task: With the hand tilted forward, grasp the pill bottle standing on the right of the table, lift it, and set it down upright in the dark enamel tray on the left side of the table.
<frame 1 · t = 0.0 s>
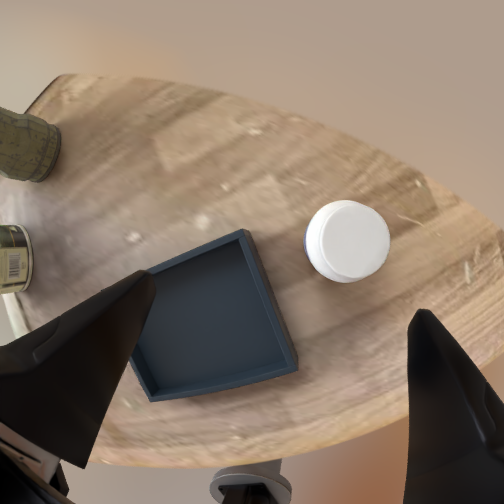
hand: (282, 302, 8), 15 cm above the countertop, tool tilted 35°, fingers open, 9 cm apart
tray: (198, 322, 25), on the countertop
pill bottle: (334, 241, 23), on the countertop
thermos: (43, 153, 28), on the countertop
coffee can: (18, 258, 30), on the countertop
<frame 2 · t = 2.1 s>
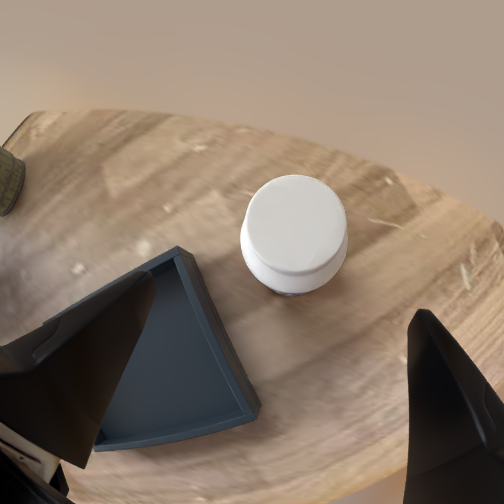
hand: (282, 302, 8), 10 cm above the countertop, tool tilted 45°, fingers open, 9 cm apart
tray: (141, 364, 19), on the countertop
pill bottle: (293, 258, 19), on the countertop
thermos: (10, 188, 26), on the countertop
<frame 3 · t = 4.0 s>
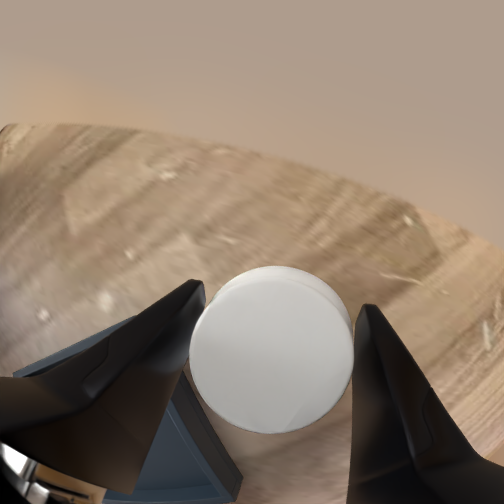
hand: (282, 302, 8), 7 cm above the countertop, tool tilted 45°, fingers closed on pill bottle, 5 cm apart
tray: (114, 425, 15), on the countertop
pill bottle: (281, 327, 15), on the countertop, touching gripper
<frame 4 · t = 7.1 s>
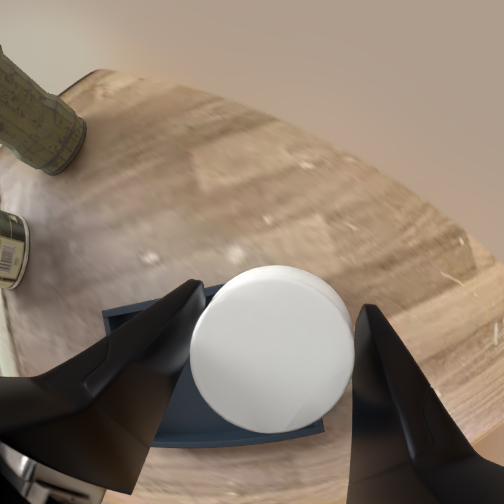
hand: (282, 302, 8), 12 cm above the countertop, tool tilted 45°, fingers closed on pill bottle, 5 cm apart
tray: (212, 367, 20), on the countertop
pill bottle: (281, 326, 15), point 6 cm above the countertop, touching gripper
thermos: (63, 146, 28), on the countertop
coffee can: (13, 253, 26), on the countertop
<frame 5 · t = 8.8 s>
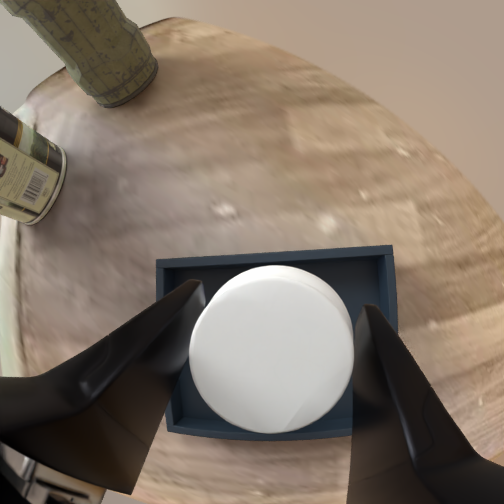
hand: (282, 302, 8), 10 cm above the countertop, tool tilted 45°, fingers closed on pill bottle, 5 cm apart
tray: (278, 346, 18), on the countertop
pill bottle: (281, 326, 15), point 4 cm above the countertop, touching gripper
thermos: (126, 81, 25), on the countertop
coffee can: (41, 185, 25), on the countertop
when the fingers open (8 cm above the countertop, at t = 10.1 s): pill bottle stays where it is, resting on tray.
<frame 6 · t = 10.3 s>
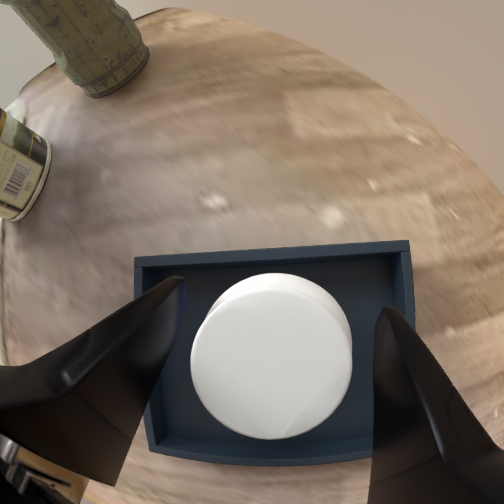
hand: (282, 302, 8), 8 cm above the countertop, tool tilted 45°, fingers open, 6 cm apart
tray: (275, 359, 15), on the countertop
pill bottle: (281, 331, 15), point 1 cm above the countertop, touching tray
thermos: (116, 71, 23), on the countertop
coffee can: (26, 180, 22), on the countertop
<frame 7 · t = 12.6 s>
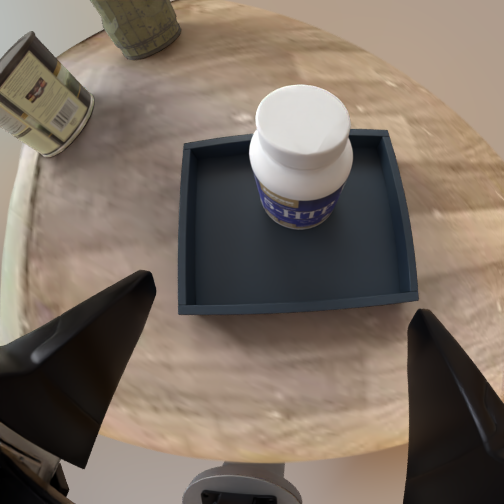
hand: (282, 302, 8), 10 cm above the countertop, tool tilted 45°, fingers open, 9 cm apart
tray: (294, 223, 19), on the countertop
pill bottle: (298, 195, 19), point 1 cm above the countertop, touching tray
thermos: (152, 41, 27), on the countertop
coffee can: (65, 124, 26), on the countertop
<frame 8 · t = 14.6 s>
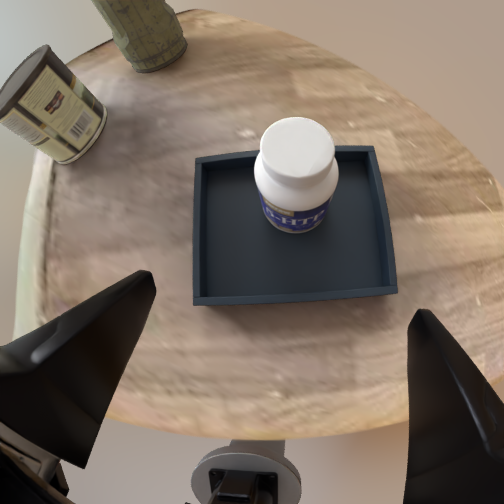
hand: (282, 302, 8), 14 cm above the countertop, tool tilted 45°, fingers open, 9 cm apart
tray: (291, 228, 23), on the countertop
pill bottle: (295, 204, 22), point 1 cm above the countertop, touching tray
thermos: (159, 54, 30), on the countertop
coffee can: (79, 133, 29), on the countertop
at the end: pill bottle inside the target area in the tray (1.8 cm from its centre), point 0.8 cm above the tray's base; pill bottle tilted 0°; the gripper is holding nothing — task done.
